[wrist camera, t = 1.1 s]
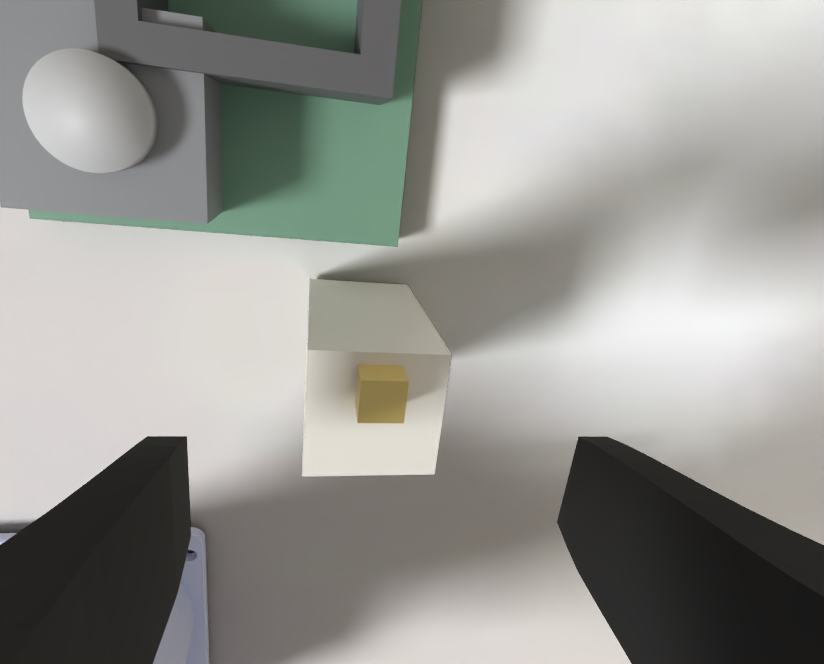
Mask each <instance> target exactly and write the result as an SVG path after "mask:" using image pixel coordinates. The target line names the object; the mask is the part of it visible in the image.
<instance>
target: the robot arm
mask: <svg viewBox="0 0 824 664" xmlns="http://www.w3.org/2000/svg"><path fill="white" fill-rule="evenodd" d="M557 523H558V525H559V528H560V530H561V533H562V535H563V538H564V540H565V543H566V545H567V548H568V550H569V552H570V555H571V557H572V559H573V561H574V564H575V566H576V568H577V570H578V572H579V574H580V576H581V578H582V579H583V581H584V583H585V585H586V586H587V588H588V590H589V592H590V593H591V595H592V597H593V599H594V600H595V602H596V604H597V605H598V607H599V609H600V611H601V612H602V614H603V616H604V617H605V619H606V621H607V623H608V624H609V626H610V628H611V629H612V631H613V633H614V634H615V636H616V638H617V639H618V641H619V643H620V645H621V646H622V648H623V650H624V651H625V653H626V655H627V656H628V658H629V660H630V662H631V663H632V664H824V545H822V544H820V543H817V542H815V541H813V540H811V539H809V538H807V537H804V536H802V535H800V534H798V533H796V532H794V531H792V530H790V529H788V528H786V527H784V526H781V525H779V524H777V523H775V522H773V521H771V520H769V519H767V518H765V517H763V516H761V515H759V514H757V513H755V512H753V511H751V510H749V509H747V508H745V507H743V506H741V505H739V504H737V503H735V502H734V501H732V500H730V499H728V498H726V497H724V496H722V495H720V494H718V493H716V492H714V491H713V490H711V489H709V488H707V487H705V486H703V485H701V484H699V483H698V482H696V481H694V480H692V479H690V478H688V477H686V476H685V475H683V474H681V473H679V472H677V471H675V470H673V469H672V468H670V467H668V466H666V465H664V464H662V463H660V462H659V461H657V460H655V459H653V458H651V457H649V456H647V455H645V454H643V453H641V452H639V451H637V450H635V449H633V448H631V447H629V446H627V445H625V444H623V443H621V442H618V441H616V440H614V439H611V438H609V437H578V441H577V445H576V449H575V453H574V457H573V461H572V465H571V469H570V473H569V477H568V481H567V485H566V489H565V493H564V497H563V501H562V505H561V509H560V513H559V517H558V521H557ZM188 550H193V551H194V552H196V553H188V552H187V551H188ZM0 664H209V634H208V604H207V573H206V542H205V535H204V533H203V532H202V531H201V530H200V529H198V528H195V527H191V521H190V498H189V476H188V454H187V437H146V438H145V439H143V440H142V441H141V442H139V443H138V444H136V445H135V446H134V447H133V448H131V449H130V450H129V451H127V452H126V453H125V454H123V455H122V456H121V457H120V458H118V459H117V460H116V461H114V462H113V463H112V464H111V465H109V466H108V467H107V468H106V469H104V470H103V471H102V472H100V473H99V474H98V475H96V476H95V477H94V478H93V479H91V480H90V481H89V482H87V483H86V484H85V485H83V486H82V487H81V488H79V489H78V490H77V491H75V492H74V493H73V494H71V495H70V496H69V497H67V498H66V499H65V500H63V501H62V502H61V503H59V504H58V505H57V506H55V507H54V508H53V509H51V510H50V511H49V512H47V513H46V514H44V515H43V516H41V517H40V518H38V519H37V520H36V521H34V522H33V523H31V524H30V525H28V526H27V527H25V528H24V529H23V530H21V531H20V532H18V533H1V534H0Z"/></svg>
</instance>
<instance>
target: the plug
mask: <svg viewBox="0 0 824 664" xmlns="http://www.w3.org/2000/svg"><path fill="white" fill-rule="evenodd" d="M451 359H452V354H451V352H450V351H449V349H448V348H447V346H446V345H445V343H444V341H443V340H442V338H441V337H440V335H439V334H438V332H437V330H436V329H435V327H434V326H433V324H432V323H431V321H430V319H429V318H428V316H427V315H426V313H425V312H424V310H423V309H422V307H421V305H420V304H419V302H418V301H417V299H416V298H415V296H414V294H413V293H412V291H411V290H410V288H409V287H408V285H402V284H386V283H370V282H353V281H337V280H321V279H310V287H309V310H308V333H307V356H306V381H305V407H304V433H303V459H302V477H303V476H367V475H431V474H435V468H436V461H437V454H438V447H439V440H440V434H441V427H442V420H443V413H444V406H445V400H446V393H447V386H448V379H449V373H450V366H451Z"/></svg>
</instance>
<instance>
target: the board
mask: <svg viewBox="0 0 824 664" xmlns="http://www.w3.org/2000/svg"><path fill="white" fill-rule="evenodd" d="M421 9H422V0H0V205H1V207H4V208H16V209H29V216H30V219H43V220H56V221H69V222H82V223H95V224H108V225H121V226H134V227H147V228H160V229H173V230H186V231H199V232H212V233H225V234H238V235H251V236H264V237H277V238H290V239H303V240H316V241H329V242H342V243H355V244H368V245H381V246H394V247H398V239H399V229H400V219H401V209H402V199H403V189H404V179H405V169H406V159H407V149H408V139H409V129H410V119H411V109H412V99H413V89H414V79H415V69H416V59H417V49H418V39H419V29H420V19H421Z"/></svg>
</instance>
